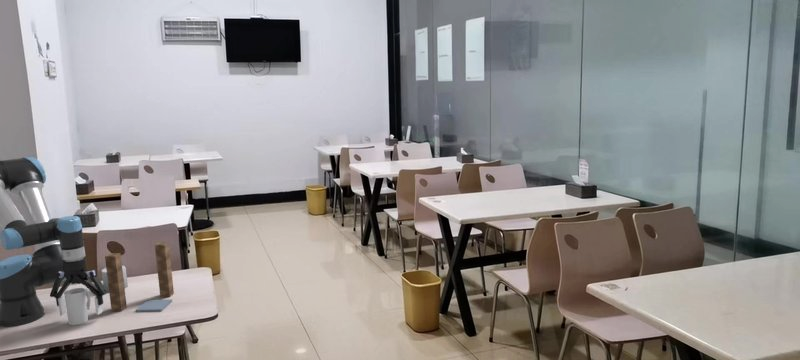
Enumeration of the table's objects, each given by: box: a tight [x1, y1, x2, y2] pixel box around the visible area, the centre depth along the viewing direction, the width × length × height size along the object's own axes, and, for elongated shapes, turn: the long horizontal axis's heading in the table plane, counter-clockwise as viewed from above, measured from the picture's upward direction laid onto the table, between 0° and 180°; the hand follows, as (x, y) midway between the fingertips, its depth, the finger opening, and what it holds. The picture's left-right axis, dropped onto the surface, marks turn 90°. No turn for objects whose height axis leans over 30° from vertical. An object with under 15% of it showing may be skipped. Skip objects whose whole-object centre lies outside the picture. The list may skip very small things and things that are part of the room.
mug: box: [63, 287, 91, 326], centre depth 216 cm, size 10×7×12 cm, turn 166°
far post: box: [154, 241, 175, 298], centre depth 238 cm, size 4×4×22 cm
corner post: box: [104, 252, 128, 312], centre depth 225 cm, size 4×4×22 cm
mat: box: [135, 299, 173, 313], centre depth 228 cm, size 10×10×1 cm
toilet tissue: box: [101, 265, 129, 293], centre depth 252 cm, size 9×13×9 cm
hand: (81, 313), depth 216 cm, fingers open, 13 cm apart
